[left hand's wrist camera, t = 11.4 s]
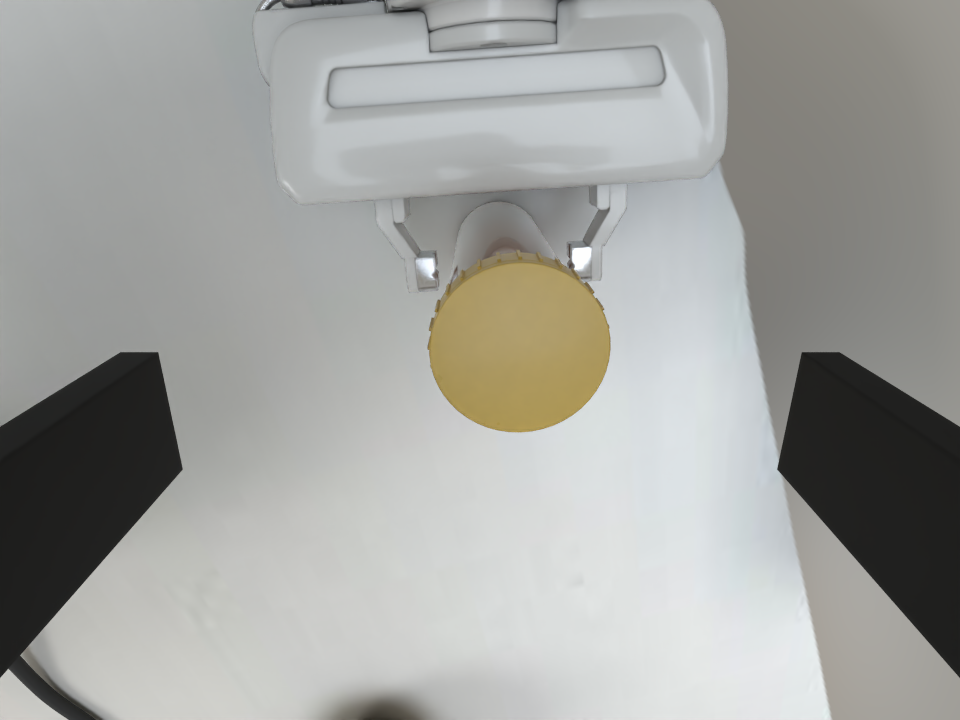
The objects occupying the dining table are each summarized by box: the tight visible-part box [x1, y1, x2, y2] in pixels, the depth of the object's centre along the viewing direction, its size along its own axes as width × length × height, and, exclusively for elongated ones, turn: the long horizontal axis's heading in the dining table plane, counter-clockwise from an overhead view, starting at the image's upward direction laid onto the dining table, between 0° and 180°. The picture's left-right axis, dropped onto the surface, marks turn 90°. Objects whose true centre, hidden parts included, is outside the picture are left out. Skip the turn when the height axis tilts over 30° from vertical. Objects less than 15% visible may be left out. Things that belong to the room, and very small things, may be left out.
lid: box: [428, 250, 610, 432], centre depth 19 cm, size 6×6×2 cm
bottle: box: [449, 201, 558, 285], centre depth 27 cm, size 5×5×18 cm
